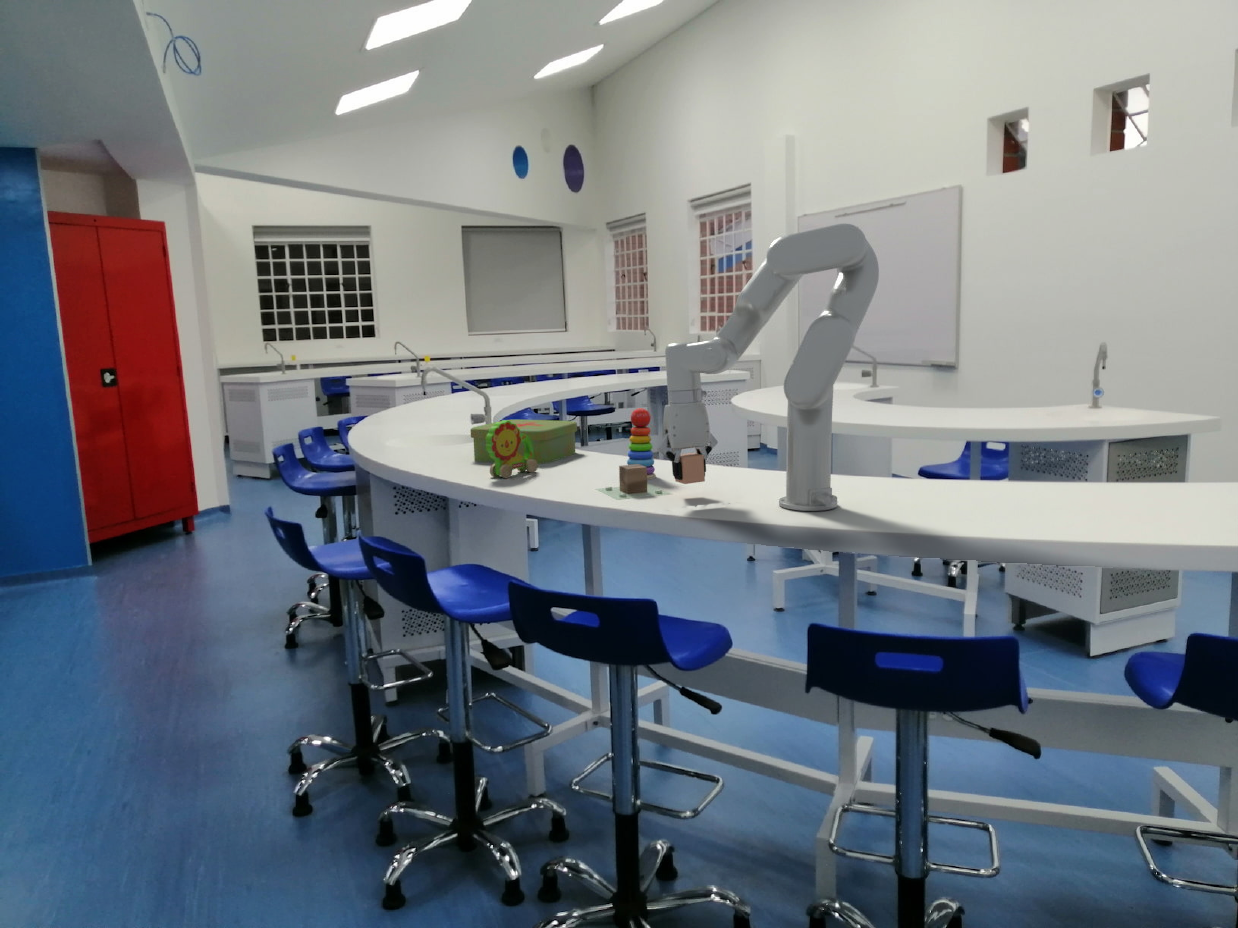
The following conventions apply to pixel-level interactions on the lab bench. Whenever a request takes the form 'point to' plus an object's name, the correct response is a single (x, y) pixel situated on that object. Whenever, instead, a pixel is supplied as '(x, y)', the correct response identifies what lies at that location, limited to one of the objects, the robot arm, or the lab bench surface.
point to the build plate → (618, 494)
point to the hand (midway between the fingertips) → (689, 476)
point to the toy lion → (509, 450)
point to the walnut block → (633, 478)
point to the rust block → (692, 468)
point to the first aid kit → (533, 439)
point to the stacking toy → (641, 442)
